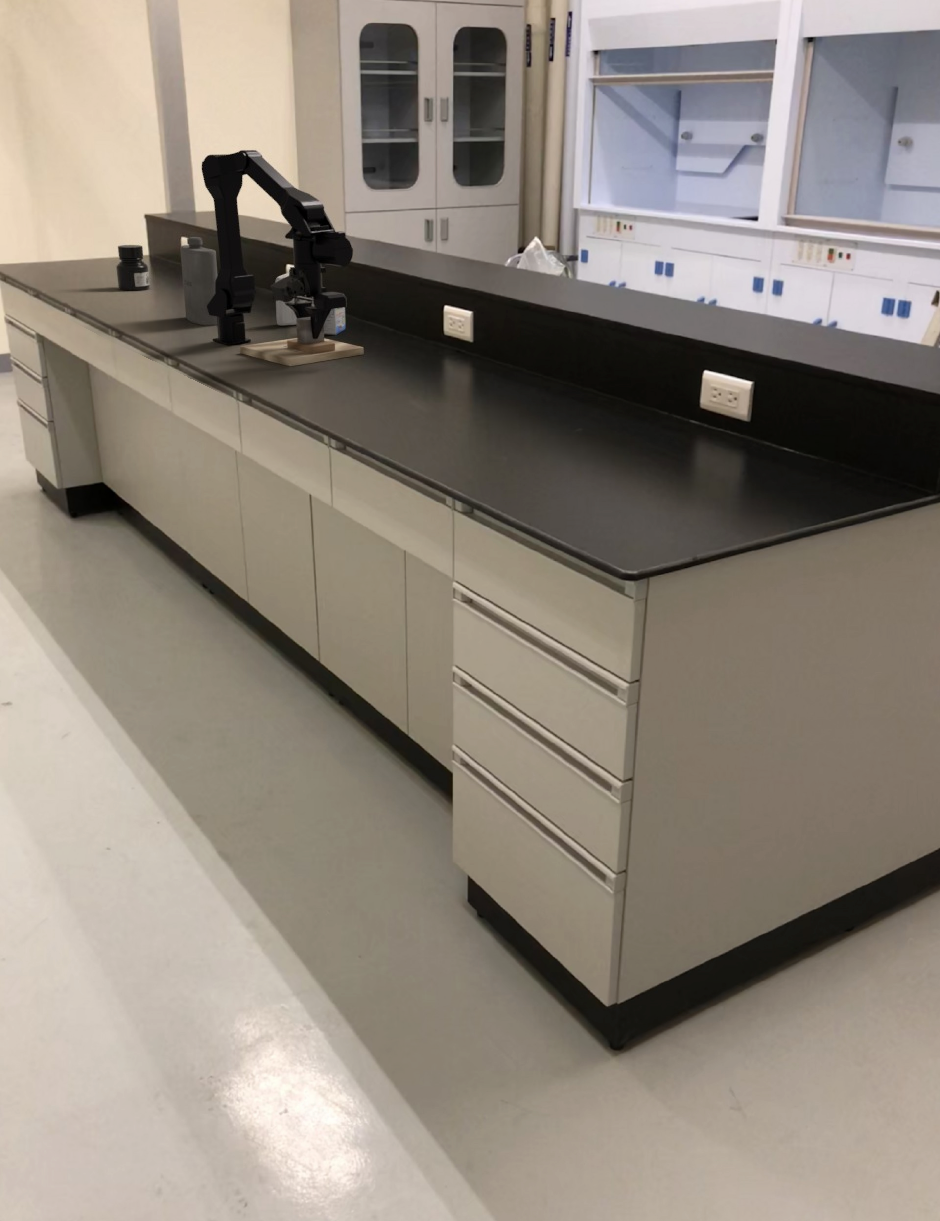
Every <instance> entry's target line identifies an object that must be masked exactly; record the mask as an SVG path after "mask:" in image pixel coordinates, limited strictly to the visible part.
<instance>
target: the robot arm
mask: <svg viewBox="0 0 940 1221" xmlns="http://www.w3.org/2000/svg"><path fill="white" fill-rule="evenodd" d="M201 173H202V176H203V182H204V187H205V188H206V190H207V191H208V193H209V194H210V195H211V198H212V199H213V207H214V215H215V226H216V234H217V235H216V236H217V243H218V253H219V263H220V269H219V272H218V273H217V278H216V281H215V295H214V296H213V298H212V299H211V301H210V302H209V303H208V305H207V309H208V312H209V315H211V316H217V325H216V326H217V327H216V328H217V337H216V338H212V342H216V343H219V344H224V345H235V344H236V345H237V344H244V343H250V342H252V339H251V338H248V337H246V323H245V316H244V314H251V312H252V307H253V303H254V301H255V295H256V294H257V291H256V286H255V275H254V274H249V273H248V272H247V271H248V270H246V268H245V266H244V260H243V259H244V258H243V249H242V241H241V240H242V238H241V228H240V218H239V207H238V197H239V194H240V192H241V190H242V187H243V179H244V178H243V176H245V175H247V176H248V177H249V178H250V179H251V180H252V181H253V182H254V183H255V184H256V185H258V187H260V189H262V190H263V191H264V192H265V193H266V194H267V195H268V196H269V197H271V199H272V200H274V202H276V203H277V205H278V207H279V209H280V213H281V215H282V217H283V218H284V220H285V221H286V222H287V223H288V224H289V226H290V227H291V228H290V230H289V231H288V232H287V233H285V235H284V238H285V239H288V240H292V243H293V245H292V247H293V266H290V267H289V269H288V270H289V271H288V273H289V276H287V277H285V278H283V279H281V280H279V281H277V282H276V283H275V282H274V283H272V284H271V285H270V288H271V291H272V299H273V300H275V302H276V301H278V300H279V301H283V302H285V305H286V306H288V307H290V308H291V309H292V310H293V311H294V313H295V315H296V317H297V318H305V317H310V320H311V329H312V336H313V339H318V337H319V335H320V332H321V330H322V328H323V325H324V323H325V321H326V319H327V317H328V315H329V313H330V311H331V309H336V308H343V307H345V308H347V304H348V303H347V299H348V298H347V296H346V295H345V294H344V293H343V292H337V291H327V287H324V286H323V274H325V273H327V268H326V267H325V266H323V265H327V266H334V267H335V266H336V267H341V268H342V267H344V268H345V267H347V266H348V265H350V264H351V261H352V259H353V256H354V255H353V254H354V248H353V246H352V244H351V241H350V240H349V239H348V238H347V236H346V231H336V229H335V227H334V226H333V224H332V222H331V220H330V218H329V216H328V214H327V212H326V210H325V206H324V204H323V202H322V201H320V200H319V199H318V198H316V197H315V196H313V195H311V194H310V193H308V192H305V191H302V190H300V189H298V188H296V187H295V186H294V185H293V184H291V183H290V182H289V180H287V179H286V177H284V176H283V175H282V174H281V173H280V172H278V170H277V169H275V168H274V167H273V166H272V164H270V163H269V161H267V160H266V159H265V158H264V157H263V155H262V154H261V152H259V151H258V150H256V149H249V150H248V149H247V150H246V149H243V150H239V151H238V152H234V153H230V154H229V153H228V154H226V153H225V154H209V155H207V156H206V157H205V158H204V159H203V161H202V162H201ZM286 302H288V303H286Z"/></svg>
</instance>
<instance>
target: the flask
mask: <svg viewBox="0 0 940 1221" xmlns="http://www.w3.org/2000/svg"><path fill="white" fill-rule="evenodd" d="M186 241H187V242H186V243H187V244H184V245H181V246H180V247H179V249H180V261H181V272H182V283H183V286H182V287H183V296H184V310H185V318H186V319H187V320H188V321H189V322H191V323H192V324H193V323H194V324H197V325H200V326H205V327H206V326H208V327H210V326H211V327H212V326H217V316H211V315H209V312H208V309H207V305H208V303H209V302H210V301H211V299H212V298H213V296H214V295H215V281H216V278H217V276H218V266H217V265H218V264H217V252H216V250H215V249H211V248H207V247H204V246H203V238H202V237H199V236H190V237H188V238H187V239H186ZM202 246H203V247H202Z"/></svg>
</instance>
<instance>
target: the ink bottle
mask: <svg viewBox="0 0 940 1221" xmlns="http://www.w3.org/2000/svg"><path fill="white" fill-rule="evenodd" d="M143 248H144V247H143V245H139V244H138V245H137V244H123V245H118V246H117V250H118V251H117V252H118V253H117V254H118V258H119V262H118V263H117V265H116V266H115V267H116V277H117V286H118V289H119V290H122V291H145V290H148V289H150V288H151V287H150V286H151V285H150V275H149V274H150V273H149V266H148V265H147V263H145V262H144V261H143V260H144V249H143Z"/></svg>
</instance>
